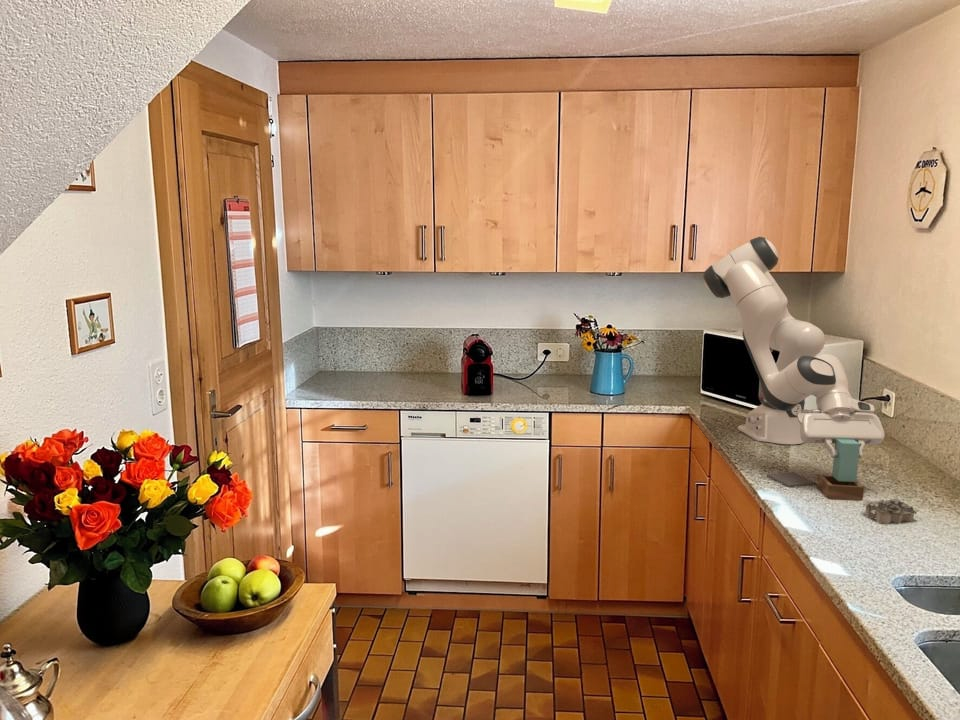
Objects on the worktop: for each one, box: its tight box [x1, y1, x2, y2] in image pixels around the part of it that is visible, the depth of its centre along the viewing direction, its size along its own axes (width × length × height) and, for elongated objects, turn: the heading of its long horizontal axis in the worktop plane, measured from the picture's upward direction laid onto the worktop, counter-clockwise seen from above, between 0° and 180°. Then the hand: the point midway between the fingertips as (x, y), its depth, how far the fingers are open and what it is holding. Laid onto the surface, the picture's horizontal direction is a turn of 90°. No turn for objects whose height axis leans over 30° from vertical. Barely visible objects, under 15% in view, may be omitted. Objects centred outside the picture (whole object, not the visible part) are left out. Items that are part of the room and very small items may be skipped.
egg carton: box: [862, 497, 919, 525], centre depth 182 cm, size 11×8×4 cm
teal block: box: [831, 439, 860, 482], centre depth 196 cm, size 4×4×10 cm
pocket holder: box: [816, 474, 865, 501], centre depth 197 cm, size 8×8×4 cm
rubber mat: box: [765, 471, 817, 488], centre depth 207 cm, size 9×9×1 cm
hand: (847, 457), depth 195 cm, fingers closed on teal block, 4 cm apart
